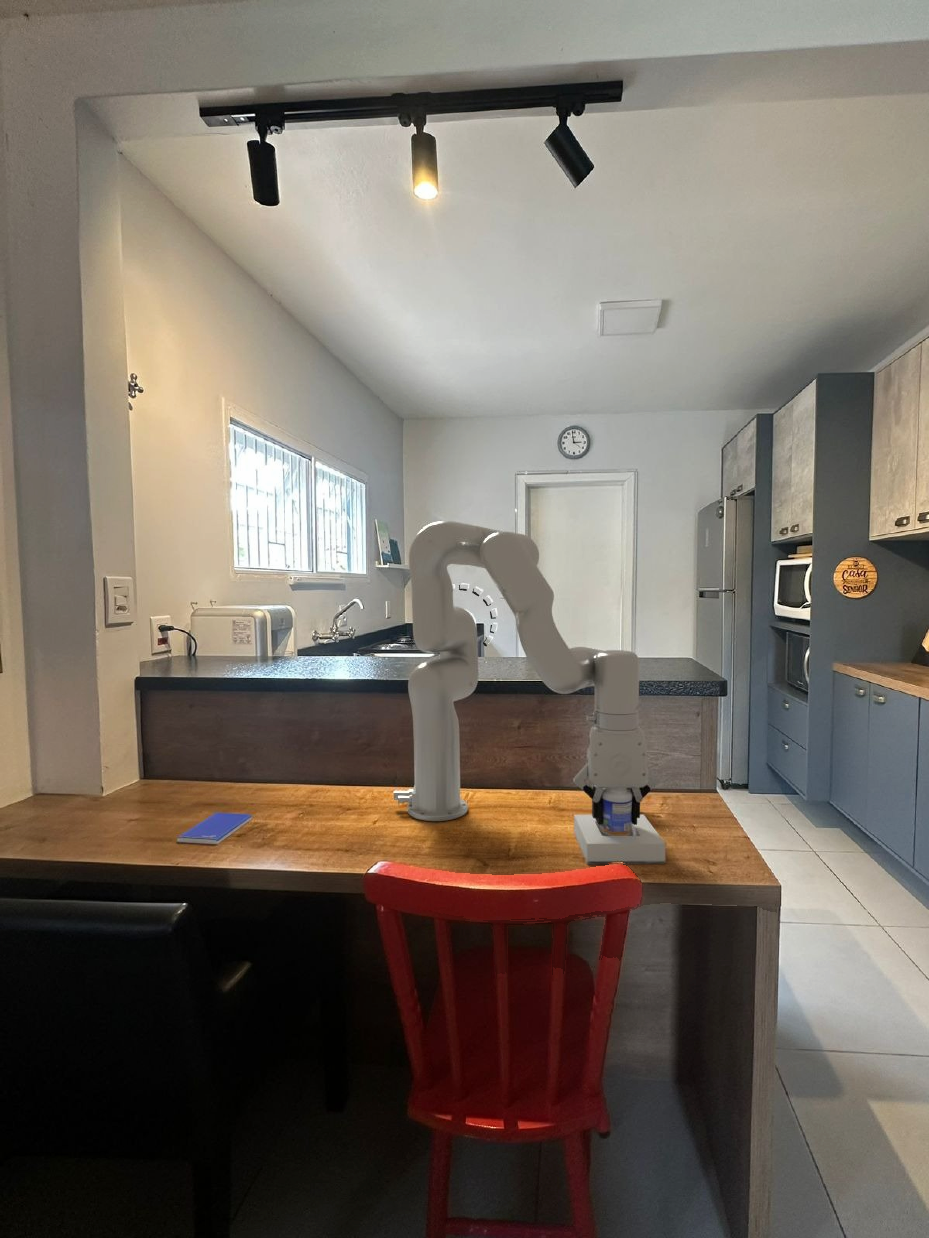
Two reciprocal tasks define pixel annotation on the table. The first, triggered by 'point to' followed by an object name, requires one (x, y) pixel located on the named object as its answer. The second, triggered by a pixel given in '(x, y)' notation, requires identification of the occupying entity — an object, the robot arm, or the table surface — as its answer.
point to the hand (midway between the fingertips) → (615, 820)
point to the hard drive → (215, 828)
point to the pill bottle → (616, 811)
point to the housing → (619, 843)
